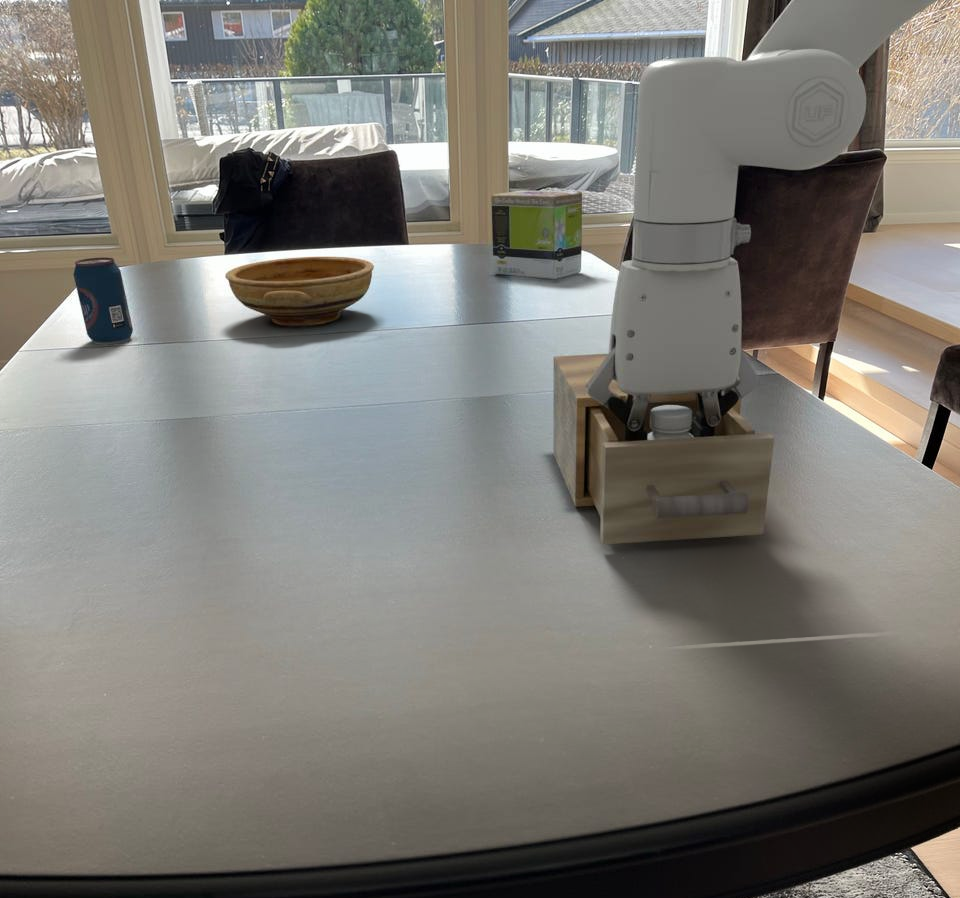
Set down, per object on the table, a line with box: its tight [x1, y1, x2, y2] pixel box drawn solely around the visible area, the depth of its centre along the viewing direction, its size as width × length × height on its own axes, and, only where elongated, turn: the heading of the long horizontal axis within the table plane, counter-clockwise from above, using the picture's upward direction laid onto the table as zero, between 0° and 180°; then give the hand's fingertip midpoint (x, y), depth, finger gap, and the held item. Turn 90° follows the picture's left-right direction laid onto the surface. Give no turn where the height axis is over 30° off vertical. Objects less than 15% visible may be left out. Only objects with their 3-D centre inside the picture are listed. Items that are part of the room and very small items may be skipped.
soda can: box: [72, 256, 134, 346], centre depth 152 cm, size 7×7×12 cm
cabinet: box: [552, 353, 743, 508], centre depth 93 cm, size 15×15×10 cm
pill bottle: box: [647, 405, 694, 440], centre depth 83 cm, size 4×4×8 cm
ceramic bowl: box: [225, 256, 375, 327], centre depth 162 cm, size 30×24×8 cm
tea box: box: [490, 189, 583, 280], centre depth 189 cm, size 15×10×15 cm, turn 52°
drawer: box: [584, 400, 775, 545], centre depth 82 cm, size 18×13×8 cm
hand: (667, 466), depth 84 cm, fingers open, 4 cm apart
